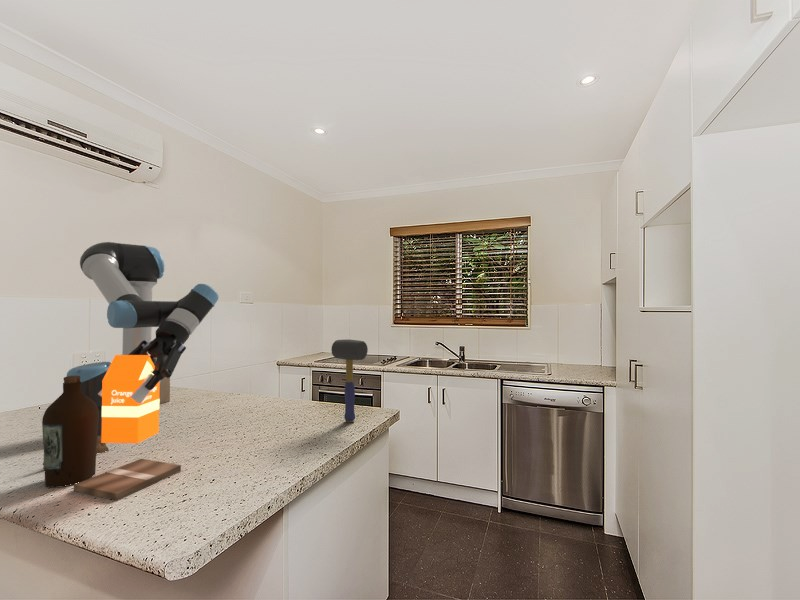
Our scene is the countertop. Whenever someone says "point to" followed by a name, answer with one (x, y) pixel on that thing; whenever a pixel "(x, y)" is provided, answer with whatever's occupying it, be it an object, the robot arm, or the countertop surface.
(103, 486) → the board
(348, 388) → the rubber mallet
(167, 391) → the wooden block
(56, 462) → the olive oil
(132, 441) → the orange juice
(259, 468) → the countertop surface
